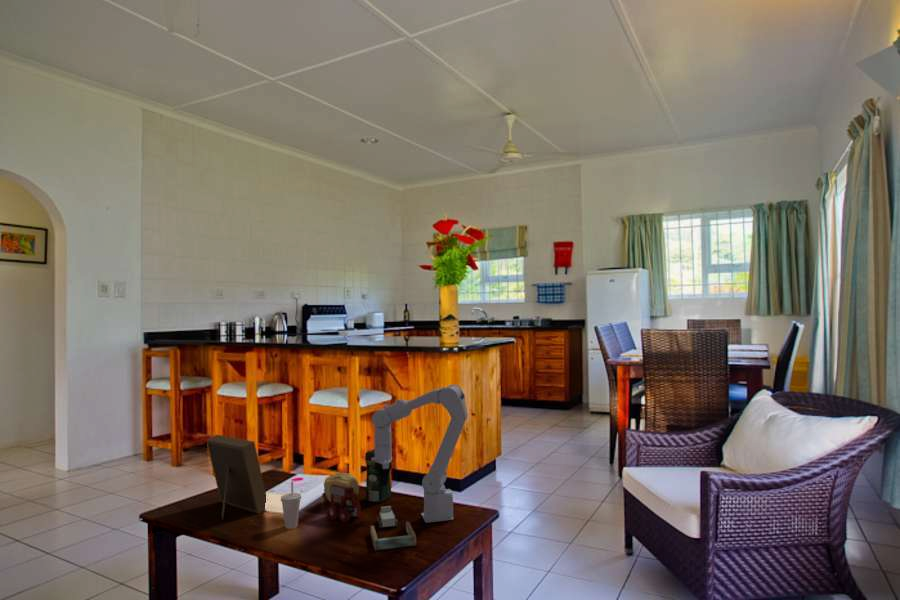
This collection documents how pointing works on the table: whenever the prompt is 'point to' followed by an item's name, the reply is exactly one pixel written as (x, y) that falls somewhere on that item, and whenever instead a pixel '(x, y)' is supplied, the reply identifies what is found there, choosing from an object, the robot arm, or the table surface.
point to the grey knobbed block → (386, 517)
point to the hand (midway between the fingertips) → (383, 484)
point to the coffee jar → (375, 481)
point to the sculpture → (340, 483)
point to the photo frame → (237, 473)
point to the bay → (394, 539)
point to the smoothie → (291, 508)
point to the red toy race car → (343, 503)
